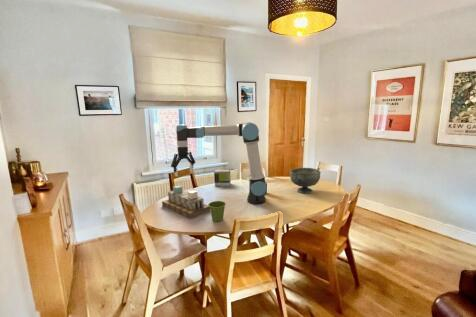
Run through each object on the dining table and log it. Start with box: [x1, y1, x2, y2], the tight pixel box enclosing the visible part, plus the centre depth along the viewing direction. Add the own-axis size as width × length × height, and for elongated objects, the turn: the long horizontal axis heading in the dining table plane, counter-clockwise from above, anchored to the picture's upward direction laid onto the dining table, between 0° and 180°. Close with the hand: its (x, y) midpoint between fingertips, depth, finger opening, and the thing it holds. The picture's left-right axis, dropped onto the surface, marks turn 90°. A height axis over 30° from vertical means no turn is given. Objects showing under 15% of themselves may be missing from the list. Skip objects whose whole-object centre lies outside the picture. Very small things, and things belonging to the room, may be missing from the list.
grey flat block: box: [161, 198, 211, 220], centre depth 189 cm, size 36×18×4 cm, turn 48°
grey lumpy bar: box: [167, 190, 205, 211], centre depth 188 cm, size 32×9×7 cm, turn 48°
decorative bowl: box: [289, 167, 321, 195], centre depth 224 cm, size 26×26×20 cm
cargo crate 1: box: [172, 185, 183, 194], centre depth 193 cm, size 5×5×4 cm
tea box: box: [213, 169, 231, 187], centre depth 249 cm, size 15×10×15 cm, turn 84°
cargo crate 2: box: [187, 189, 198, 199], centre depth 180 cm, size 5×5×4 cm
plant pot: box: [207, 200, 227, 222], centre depth 168 cm, size 12×12×11 cm
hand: (184, 174), depth 184 cm, fingers open, 13 cm apart
